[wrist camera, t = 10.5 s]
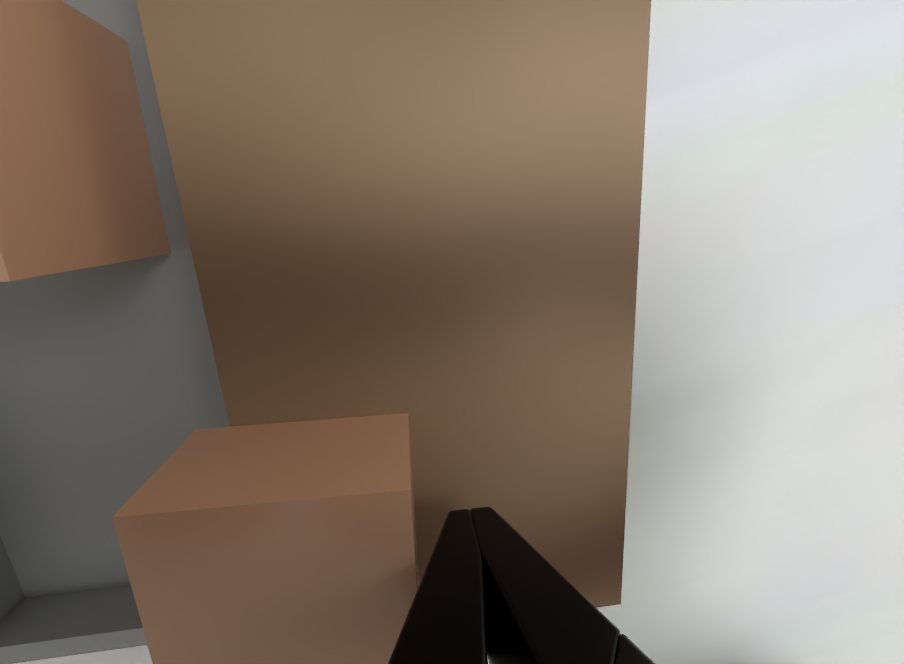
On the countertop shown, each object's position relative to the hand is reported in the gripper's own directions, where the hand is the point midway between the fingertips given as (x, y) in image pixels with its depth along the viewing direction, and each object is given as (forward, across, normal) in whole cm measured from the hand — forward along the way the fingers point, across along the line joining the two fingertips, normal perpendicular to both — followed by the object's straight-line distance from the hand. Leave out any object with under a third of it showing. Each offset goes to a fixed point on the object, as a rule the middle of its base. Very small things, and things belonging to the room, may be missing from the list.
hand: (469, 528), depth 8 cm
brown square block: (+1, +3, 0) cm, 3 cm away
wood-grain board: (+4, 0, -4) cm, 5 cm away
